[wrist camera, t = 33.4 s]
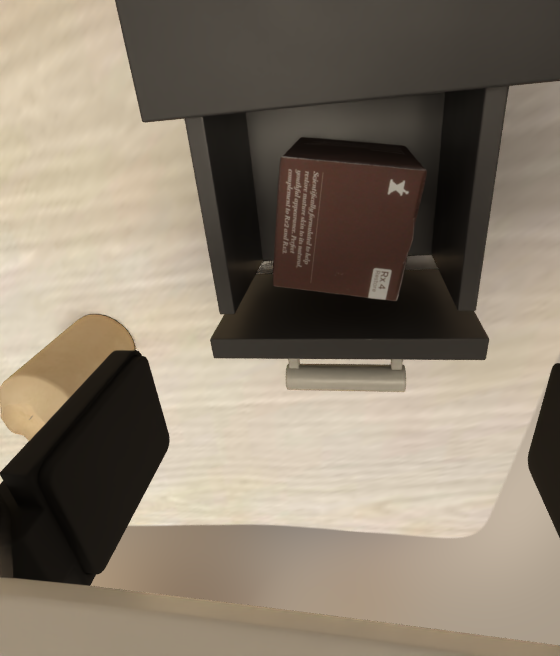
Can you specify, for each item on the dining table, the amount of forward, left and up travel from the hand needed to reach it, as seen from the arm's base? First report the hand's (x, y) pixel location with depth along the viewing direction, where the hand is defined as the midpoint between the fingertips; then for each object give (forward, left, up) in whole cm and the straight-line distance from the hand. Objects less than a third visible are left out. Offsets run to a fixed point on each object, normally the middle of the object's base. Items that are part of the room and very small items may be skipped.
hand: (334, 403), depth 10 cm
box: (0, -1, -18) cm, 18 cm away
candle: (+20, +10, -20) cm, 30 cm away
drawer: (0, 0, -19) cm, 18 cm away
